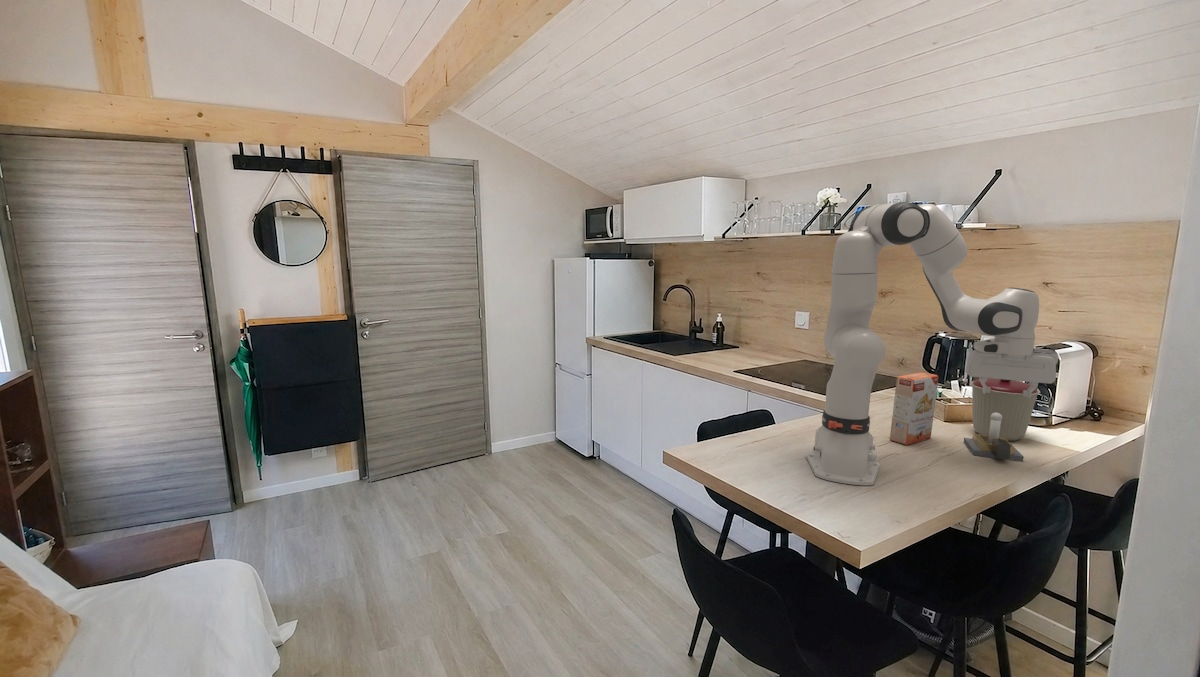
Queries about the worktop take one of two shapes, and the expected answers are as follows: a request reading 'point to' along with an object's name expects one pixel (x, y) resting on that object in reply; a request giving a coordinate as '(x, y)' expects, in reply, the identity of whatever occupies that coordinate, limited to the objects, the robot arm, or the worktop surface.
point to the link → (994, 445)
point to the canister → (1002, 407)
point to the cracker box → (913, 408)
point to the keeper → (993, 434)
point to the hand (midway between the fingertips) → (1006, 395)
